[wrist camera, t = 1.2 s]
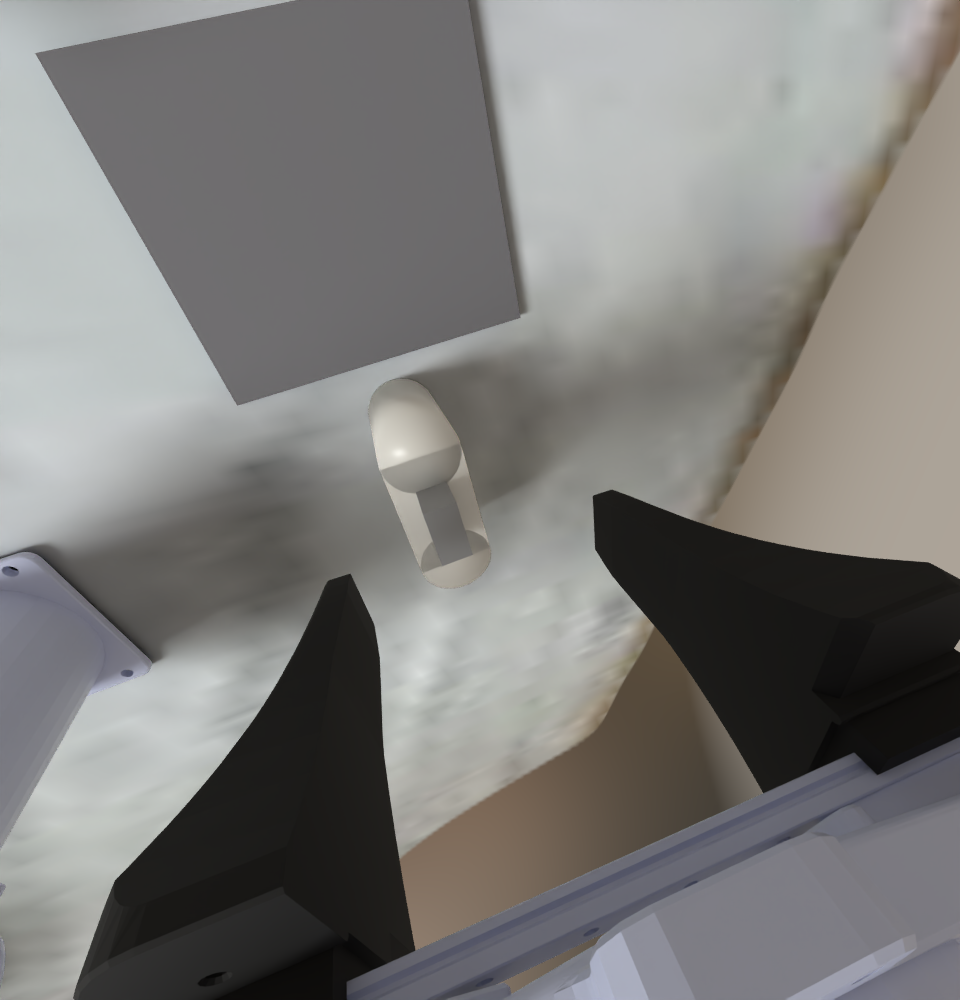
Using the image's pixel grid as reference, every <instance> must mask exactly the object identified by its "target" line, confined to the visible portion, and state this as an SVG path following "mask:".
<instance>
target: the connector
mask: <svg viewBox="0 0 960 1000" xmlns="http://www.w3.org/2000/svg"><path fill="white" fill-rule="evenodd" d="M368 415H369V420H370V426H371V431H372V436H373V441H374V447H375V452H376V457H377V463H378V467H379V470H380V472H381V475H382V477H383V480H384V482H385V484H386V487H387V489H388V492H389V494H390V497H391V499H392V501H393V504H394V506H395V509H396V511H397V513H398V516H399V518H400V521H401V523H402V525H403V528H404V530H405V533H406V535H407V537H408V540H409V542H410V545H411V547H412V550H413V552H414V554H415V557H416V559H417V562H418V564H419V566H420V569H421V571H422V574H423V575H424V577H425V578H426V580H427V581H428V582H430V583H431V584H433V585H435V586H437V587H441V588H458V587H462V586H465V585H467V584H470V583H471V582H473V581H475V580H476V579H477V578H479V577H480V576H481V575H482V574H483V573H484V571H485V570H486V568H487V567H488V564H489V562H490V558H491V550H490V546H489V542H488V539H487V535H486V531H485V528H484V524H483V521H482V517H481V514H480V510H479V506H478V503H477V499H476V496H475V492H474V489H473V485H472V482H471V478H470V474H469V471H468V467H467V464H466V460H465V457H464V453H463V450H462V446H461V443H460V440H459V437H458V435H457V434H456V432H455V431H454V429H453V427H452V426H451V424H450V423H449V421H448V420H447V418H446V417H445V415H444V414H443V412H442V411H441V409H440V408H439V406H438V405H437V403H436V401H435V400H434V398H433V397H432V395H431V394H430V393H429V391H428V390H427V389H426V388H425V387H424V386H423V385H421V384H420V383H418V382H416V381H413V380H410V379H394V380H391V381H388V382H386V383H384V384H383V385H381V386H380V387H379V388H378V389H377V390H376V391H375V392H374V394H373V395H372V397H371V400H370V403H369V408H368Z"/></svg>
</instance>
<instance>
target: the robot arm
mask: <svg viewBox="0 0 960 1000" xmlns="http://www.w3.org/2000/svg"><path fill="white" fill-rule="evenodd" d="M593 509H594V532H595V550H596V551H597V553H598V554H599V556H600V558H601V559H602V561H603V563H604V564H605V566H606V567H607V569H608V570H609V572H610V573H611V575H612V576H613V577H614V579H615V580H616V581H617V582H618V583H619V585H620V586H621V587H622V588H623V589H624V591H625V592H626V593H627V594H628V595H629V596H630V598H631V599H632V600H633V601H634V602H635V603H636V605H637V606H638V607H639V608H640V609H641V610H642V612H643V613H644V614H645V615H646V616H647V617H648V619H649V620H650V621H651V622H652V623H653V624H654V626H655V627H656V628H657V629H658V630H659V631H660V633H661V634H662V635H663V636H664V637H665V639H666V640H667V641H668V643H669V644H670V645H671V647H672V648H673V650H674V651H675V652H676V654H677V655H678V657H679V658H680V660H681V661H682V663H683V664H684V665H685V667H686V668H687V670H688V671H689V673H690V674H691V676H692V677H693V679H694V680H695V682H696V683H697V684H698V686H699V688H700V689H701V691H702V692H703V694H704V695H705V697H706V698H707V700H708V701H709V703H710V704H711V706H712V708H713V709H714V711H715V712H716V714H717V716H718V717H719V719H720V721H721V722H722V724H723V725H724V727H725V728H726V730H727V731H728V733H729V735H730V737H731V738H732V740H733V742H734V743H735V745H736V746H737V748H738V750H739V752H740V753H741V755H742V757H743V759H744V760H745V762H746V764H747V765H748V767H749V769H750V771H751V772H752V774H753V776H754V778H755V779H756V781H757V783H758V784H759V786H760V788H761V790H762V792H763V794H761V795H759V796H757V797H754V798H752V799H750V800H748V801H746V802H743V803H741V804H739V805H737V806H734V807H733V808H730V809H728V810H726V811H723V812H721V813H719V814H717V815H715V816H712V817H710V818H708V819H706V820H703V821H701V822H699V823H697V824H695V825H692V826H690V827H688V828H686V829H684V830H681V831H679V832H677V833H675V834H673V835H670V836H668V837H666V838H664V839H662V840H659V841H657V842H655V843H653V844H650V845H648V846H646V847H644V848H642V849H639V850H637V851H635V852H633V853H631V854H628V855H626V856H624V857H622V858H620V859H617V860H615V861H613V862H611V863H609V864H606V865H604V866H602V867H600V868H597V869H595V870H593V871H591V872H589V873H586V874H584V875H582V876H580V877H577V878H575V879H573V880H571V881H569V882H566V883H564V884H562V885H560V886H558V887H555V888H553V889H551V890H549V891H547V892H544V893H542V894H540V895H538V896H535V897H533V898H531V899H529V900H527V901H525V902H522V903H520V904H518V905H516V906H513V907H511V908H509V909H507V910H504V911H502V912H500V913H498V914H496V915H494V916H491V917H489V918H487V919H485V920H482V921H480V922H478V923H476V924H474V925H471V926H469V927H467V928H465V929H463V930H460V931H458V932H456V933H454V934H451V935H449V936H447V937H445V938H443V939H440V940H438V941H436V942H434V943H432V944H429V945H427V946H425V947H423V948H421V949H418V950H416V951H415V946H414V941H413V935H412V930H411V924H410V918H409V913H408V907H407V903H406V896H405V890H404V885H403V879H402V873H401V867H400V861H399V854H398V848H397V842H396V836H395V829H394V823H393V816H392V809H391V802H390V796H389V788H388V781H387V774H386V766H385V759H384V748H383V734H382V705H381V678H380V657H379V651H378V644H377V638H376V632H375V626H374V623H373V621H372V619H371V617H370V614H369V612H368V610H367V608H366V606H365V604H364V602H363V600H362V597H361V595H360V593H359V591H358V589H357V587H356V585H355V582H354V580H353V578H352V576H351V574H348V575H345V576H342V577H339V578H335V579H332V580H329V581H328V582H327V584H326V585H325V588H324V590H323V592H322V594H321V597H320V599H319V601H318V604H317V606H316V608H315V610H314V613H313V615H312V617H311V619H310V621H309V624H308V626H307V628H306V630H305V632H304V634H303V636H302V638H301V640H300V642H299V644H298V646H297V648H296V650H295V652H294V654H293V656H292V657H291V659H290V661H289V663H288V665H287V666H286V668H285V670H284V672H283V674H282V676H281V677H280V679H279V681H278V683H277V684H276V686H275V687H274V689H273V691H272V692H271V694H270V696H269V697H268V699H267V700H266V702H265V703H264V705H263V707H262V708H261V710H260V711H259V713H258V714H257V716H256V717H255V719H254V720H253V721H252V723H251V724H250V726H249V727H248V728H247V730H246V731H245V732H244V734H243V735H242V736H241V738H240V739H239V740H238V742H237V743H236V744H235V746H234V747H233V748H232V750H231V751H230V752H229V754H228V755H227V756H226V758H225V759H224V760H223V762H222V763H221V764H220V765H219V767H218V768H217V769H216V770H215V771H214V773H213V774H212V775H211V776H210V778H209V779H208V780H207V781H206V782H205V784H204V785H203V786H202V787H201V788H200V790H199V791H198V792H197V793H196V794H195V795H194V796H193V798H192V799H191V800H190V801H189V802H188V803H187V805H186V806H185V807H184V808H183V809H182V810H181V811H180V813H179V814H178V815H177V816H176V817H175V818H174V819H173V820H172V821H171V823H170V824H169V825H168V826H167V827H166V828H165V829H164V830H163V831H162V832H161V833H160V834H159V835H158V836H157V837H156V838H155V839H154V841H153V842H152V843H151V844H150V845H149V846H148V847H147V848H146V849H145V850H144V851H143V852H142V853H141V854H140V855H139V856H138V857H137V858H136V860H135V861H134V862H133V863H132V864H131V865H130V866H129V867H128V868H127V869H126V870H125V871H124V872H123V873H122V874H121V875H120V876H119V877H118V878H117V879H116V880H115V882H114V884H113V887H112V889H111V892H110V894H109V897H108V899H107V902H106V904H105V907H104V910H103V912H102V915H101V918H100V921H99V923H98V926H97V929H96V932H95V935H94V937H93V940H92V943H91V946H90V949H89V952H88V954H87V957H86V960H85V963H84V966H83V969H82V971H81V974H80V977H79V980H78V983H77V985H76V989H75V993H74V997H73V998H74V1000H960V652H958V651H956V650H955V649H954V647H955V646H956V644H957V643H958V641H959V640H960V579H958V578H957V577H955V576H953V575H951V574H949V573H948V572H945V571H944V570H942V569H940V568H938V567H937V566H934V565H933V564H931V563H928V562H915V561H902V560H890V559H877V558H866V557H857V556H849V555H841V554H833V553H826V552H820V551H813V550H807V549H801V548H796V547H791V546H786V545H780V544H776V543H771V542H766V541H762V540H758V539H753V538H750V537H746V536H742V535H738V534H734V533H731V532H727V531H724V530H720V529H717V528H714V527H711V526H708V525H705V524H702V523H699V522H696V521H693V520H690V519H687V518H684V517H682V516H679V515H676V514H674V513H671V512H668V511H666V510H663V509H661V508H658V507H656V506H653V505H651V504H648V503H646V502H643V501H641V500H638V499H636V498H633V497H631V496H628V495H625V494H623V493H620V492H617V491H614V490H609V491H606V492H603V493H600V494H597V495H594V496H593ZM9 566H11V567H15V568H16V569H18V571H17V570H13V569H11V568H9ZM151 666H152V662H151V660H150V659H149V658H148V657H147V656H146V655H145V654H143V653H142V652H141V651H140V650H139V649H138V648H137V647H136V646H135V645H134V644H133V643H132V642H131V641H130V640H129V639H128V638H126V637H125V636H124V635H123V634H122V633H121V632H120V631H119V630H118V629H117V628H116V627H115V626H114V625H113V624H112V623H111V622H109V621H108V620H107V619H106V618H105V617H104V616H103V615H102V614H101V613H100V612H99V611H98V610H97V609H96V608H95V607H93V606H92V605H91V604H90V603H89V602H88V601H87V600H86V599H85V598H84V597H83V596H82V595H81V594H80V593H79V592H78V591H76V590H75V589H74V588H73V587H72V586H71V585H70V584H69V583H68V582H67V581H66V580H65V579H64V578H63V577H62V576H60V575H59V574H58V573H57V572H56V571H55V570H54V569H53V568H52V567H51V566H50V565H49V564H48V563H47V562H46V561H45V560H43V559H42V558H41V557H40V556H38V555H37V554H34V553H31V552H21V553H17V554H14V555H11V556H8V557H5V558H2V559H0V850H1V848H2V846H3V844H4V842H5V841H6V839H7V837H8V835H9V834H10V832H11V830H12V828H13V826H14V825H15V823H16V821H17V819H18V818H19V816H20V814H21V812H22V811H23V809H24V807H25V805H26V803H27V802H28V800H29V798H30V796H31V795H32V793H33V791H34V789H35V787H36V786H37V784H38V782H39V780H40V779H41V777H42V775H43V773H44V771H45V770H46V768H47V766H48V764H49V763H50V761H51V759H52V757H53V755H54V754H55V752H56V750H57V748H58V747H59V745H60V743H61V741H62V740H63V738H64V736H65V734H66V732H67V731H68V729H69V727H70V725H71V724H72V722H73V720H74V718H75V716H76V715H77V713H78V711H79V709H80V708H81V706H82V704H83V702H84V700H85V699H86V697H87V696H88V695H91V694H94V693H96V692H99V691H102V690H104V689H107V688H110V687H112V686H115V685H118V684H120V683H123V682H126V681H128V680H131V679H134V678H136V677H139V676H142V675H144V674H146V673H148V672H149V670H150V668H151ZM126 669H127V670H126ZM130 670H131V671H130ZM5 888H6V886H5V884H2V883H0V897H1V895H2V893H3V891H4V890H5ZM605 932H607V933H606V934H604V935H603V936H602V937H601V938H599V940H598V941H597V944H596V945H594V946H593V947H591V948H589V949H587V950H586V951H584V952H582V953H580V954H579V955H577V956H576V957H574V958H572V959H570V960H569V961H567V962H565V963H564V964H562V965H560V966H559V967H557V968H555V969H553V970H552V971H550V972H548V973H547V974H545V975H543V976H542V977H540V978H538V979H537V980H535V981H533V982H531V983H530V984H528V985H526V986H525V987H523V988H522V989H520V990H518V991H516V992H514V993H513V994H511V990H510V987H509V986H508V985H507V984H505V983H501V984H498V983H500V982H502V981H504V980H507V979H509V978H511V977H513V976H515V975H517V974H519V973H521V972H524V971H526V970H528V969H530V968H532V967H534V966H536V965H538V964H540V963H542V962H544V961H546V960H549V959H551V958H553V957H555V956H557V955H559V954H561V953H563V952H565V951H568V950H570V949H572V948H574V947H576V946H578V945H580V944H582V943H584V942H586V941H589V940H591V939H593V938H595V937H597V936H599V935H601V934H603V933H605ZM5 955H6V953H5V946H4V941H3V939H2V938H1V936H0V987H1V983H2V979H3V974H4V967H5ZM496 984H497V985H496Z"/></svg>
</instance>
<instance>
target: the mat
mask: <svg viewBox="0 0 960 1000" xmlns="http://www.w3.org/2000/svg"><path fill="white" fill-rule="evenodd" d="M35 54H36V55H37V57H38V59H39V61H40V62H41V64H42V66H43V68H44V69H45V71H46V73H47V75H48V76H49V78H50V80H51V82H52V83H53V85H54V87H55V88H56V90H57V92H58V94H59V95H60V97H61V99H62V101H63V102H64V104H65V106H66V108H67V109H68V111H69V113H70V115H71V116H72V118H73V120H74V122H75V123H76V125H77V127H78V129H79V130H80V132H81V134H82V136H83V137H84V139H85V141H86V143H87V144H88V146H89V148H90V150H91V151H92V153H93V155H94V157H95V158H96V160H97V162H98V163H99V165H100V167H101V169H102V170H103V172H104V174H105V176H106V177H107V179H108V181H109V183H110V184H111V186H112V188H113V190H114V191H115V193H116V195H117V197H118V198H119V200H120V202H121V204H122V205H123V207H124V209H125V211H126V212H127V214H128V216H129V218H130V219H131V221H132V223H133V225H134V226H135V228H136V230H137V232H138V233H139V235H140V237H141V238H142V240H143V242H144V244H145V245H146V247H147V249H148V251H149V252H150V254H151V256H152V258H153V259H154V261H155V263H156V265H157V266H158V268H159V270H160V272H161V273H162V275H163V277H164V279H165V280H166V282H167V284H168V286H169V287H170V289H171V291H172V293H173V294H174V296H175V298H176V300H177V301H178V303H179V305H180V307H181V308H182V310H183V312H184V313H185V315H186V317H187V319H188V320H189V322H190V324H191V326H192V327H193V329H194V331H195V333H196V334H197V336H198V338H199V340H200V341H201V343H202V345H203V347H204V348H205V350H206V352H207V354H208V355H209V357H210V359H211V361H212V362H213V364H214V366H215V368H216V369H217V371H218V373H219V375H220V376H221V378H222V380H223V382H224V383H225V385H226V387H227V389H228V390H229V392H230V394H231V395H232V397H233V399H234V401H235V402H236V404H237V405H241V404H244V403H247V402H250V401H254V400H257V399H260V398H263V397H266V396H270V395H273V394H276V393H279V392H283V391H286V390H289V389H292V388H295V387H299V386H302V385H305V384H308V383H312V382H315V381H318V380H321V379H324V378H328V377H331V376H334V375H337V374H341V373H344V372H347V371H350V370H353V369H357V368H360V367H363V366H366V365H370V364H373V363H376V362H379V361H382V360H386V359H389V358H392V357H395V356H399V355H402V354H405V353H408V352H411V351H415V350H418V349H421V348H424V347H428V346H431V345H434V344H437V343H440V342H444V341H447V340H450V339H453V338H457V337H460V336H463V335H466V334H469V333H473V332H476V331H479V330H482V329H486V328H489V327H492V326H495V325H498V324H502V323H505V322H508V321H511V320H515V319H518V318H520V312H519V306H518V300H517V294H516V288H515V281H514V275H513V269H512V263H511V257H510V251H509V245H508V239H507V233H506V227H505V221H504V215H503V209H502V203H501V196H500V190H499V184H498V178H497V172H496V166H495V160H494V154H493V148H492V142H491V136H490V130H489V124H488V118H487V112H486V105H485V99H484V93H483V87H482V81H481V75H480V69H479V63H478V57H477V51H476V45H475V39H474V33H473V27H472V20H471V14H470V8H469V2H468V0H296V1H291V2H286V3H281V4H276V5H271V6H266V7H261V8H256V9H251V10H246V11H242V12H237V13H232V14H227V15H222V16H217V17H212V18H207V19H202V20H197V21H192V22H187V23H182V24H177V25H173V26H168V27H163V28H158V29H153V30H148V31H143V32H138V33H133V34H128V35H123V36H118V37H113V38H108V39H103V40H99V41H94V42H89V43H84V44H79V45H74V46H69V47H64V48H59V49H54V50H49V51H44V52H39V53H35Z"/></svg>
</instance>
